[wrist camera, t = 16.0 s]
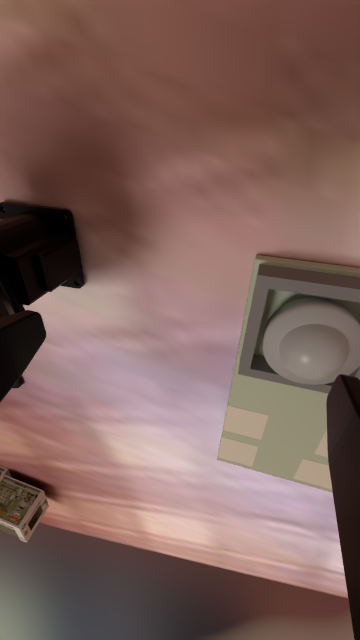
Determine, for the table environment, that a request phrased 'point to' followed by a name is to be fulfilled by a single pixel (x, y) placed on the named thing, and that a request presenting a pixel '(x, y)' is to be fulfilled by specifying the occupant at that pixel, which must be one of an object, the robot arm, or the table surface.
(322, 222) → the table surface
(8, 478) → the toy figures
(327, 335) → the dome
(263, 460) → the board
